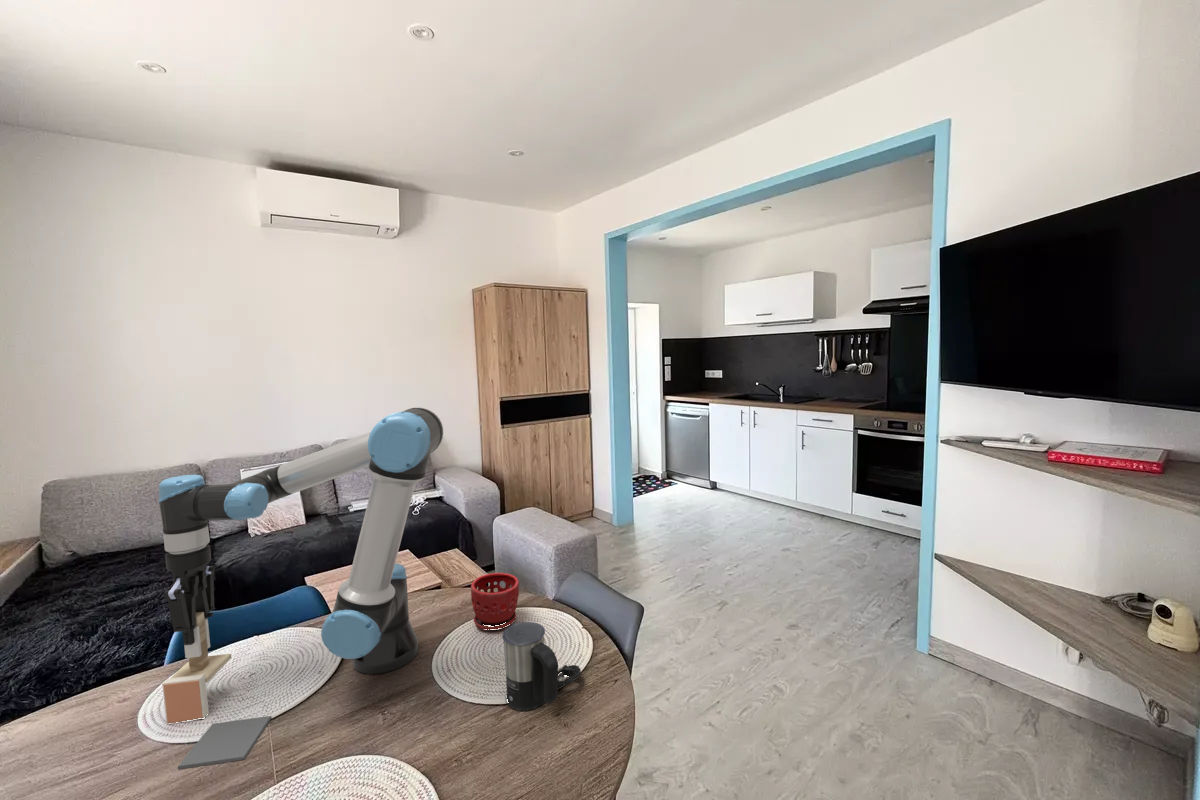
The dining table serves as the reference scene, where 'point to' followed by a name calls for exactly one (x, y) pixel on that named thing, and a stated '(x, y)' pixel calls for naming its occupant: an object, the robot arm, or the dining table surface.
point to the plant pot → (494, 600)
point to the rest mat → (225, 742)
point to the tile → (185, 698)
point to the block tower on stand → (203, 657)
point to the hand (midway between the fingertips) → (198, 652)
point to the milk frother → (532, 667)
